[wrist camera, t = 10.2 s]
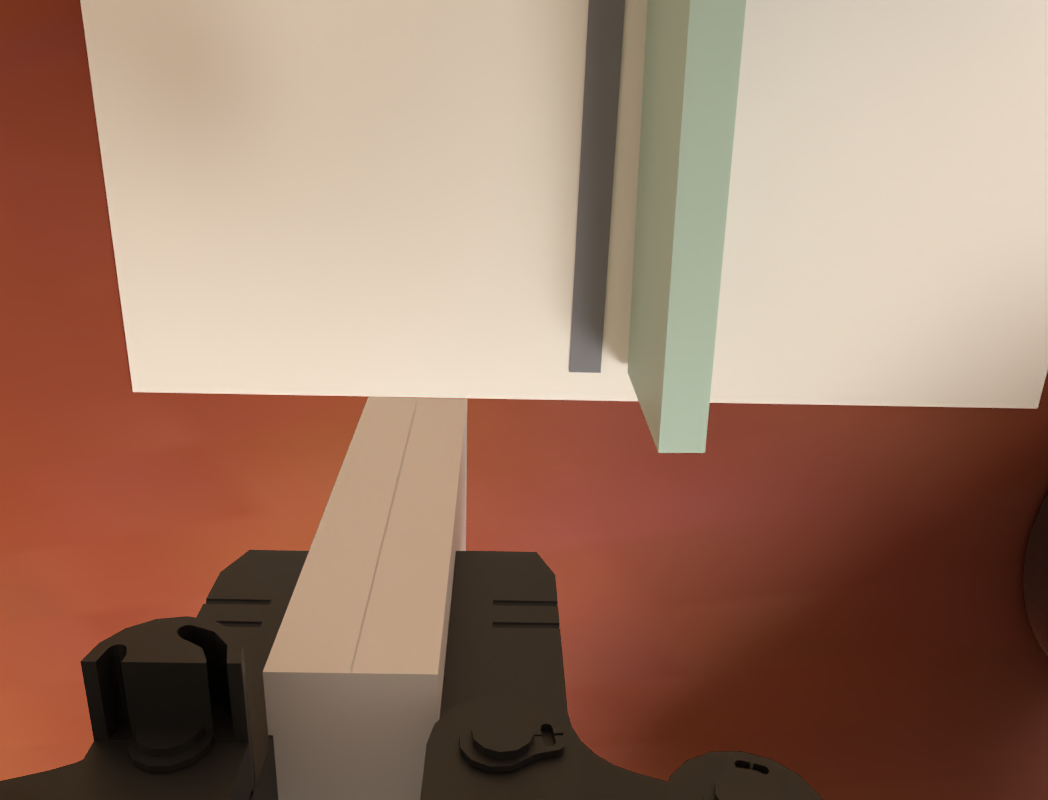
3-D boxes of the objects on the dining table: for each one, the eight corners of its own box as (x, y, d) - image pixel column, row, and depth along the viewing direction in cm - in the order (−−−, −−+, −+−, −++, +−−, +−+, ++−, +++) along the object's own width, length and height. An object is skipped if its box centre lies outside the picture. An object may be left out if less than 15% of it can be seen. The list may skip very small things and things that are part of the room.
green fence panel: (695, -49, 25) (752, -71, 19) (665, 371, 29) (704, 452, 24) (650, -50, 25) (695, -71, 19) (627, 371, 29) (658, 453, 24)
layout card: (1032, 405, 31) (1039, 409, 31) (136, 388, 30) (131, 393, 30) (1205, -277, 24) (1216, -282, 24) (40, -332, 23) (32, -339, 22)
